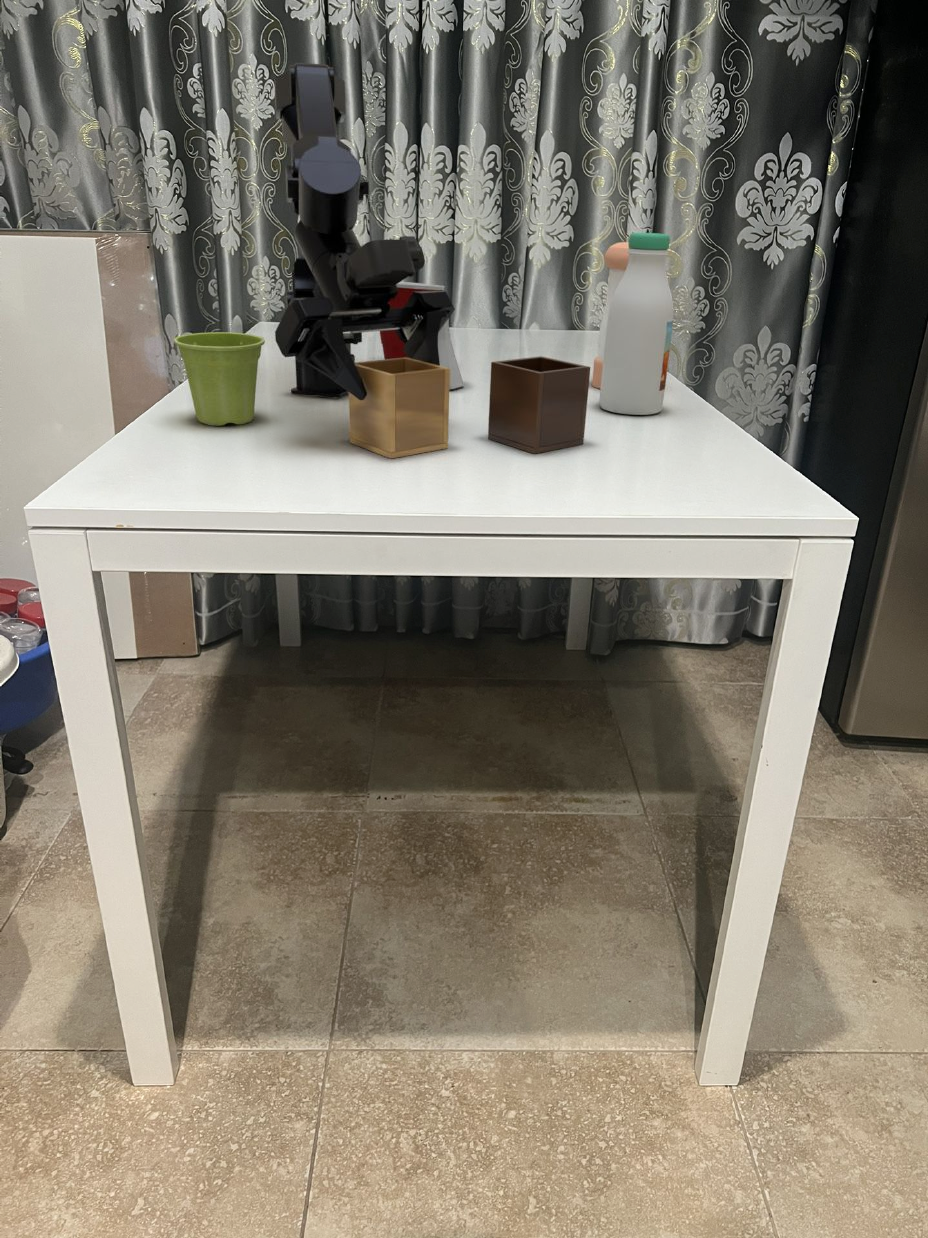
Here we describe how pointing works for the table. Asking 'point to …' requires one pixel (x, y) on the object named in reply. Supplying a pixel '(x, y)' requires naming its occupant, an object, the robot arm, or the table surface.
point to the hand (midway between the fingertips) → (402, 392)
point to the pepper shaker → (610, 299)
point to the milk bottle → (639, 331)
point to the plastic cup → (389, 337)
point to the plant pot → (221, 374)
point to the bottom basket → (538, 403)
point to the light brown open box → (401, 407)
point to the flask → (449, 356)
